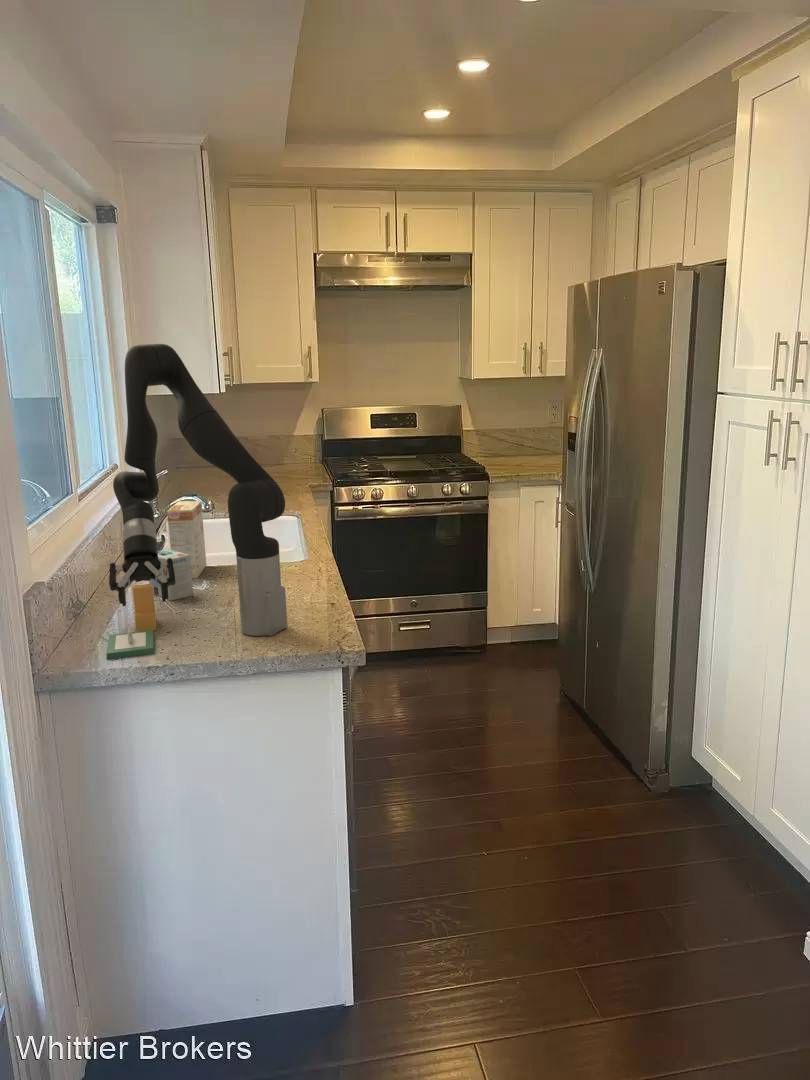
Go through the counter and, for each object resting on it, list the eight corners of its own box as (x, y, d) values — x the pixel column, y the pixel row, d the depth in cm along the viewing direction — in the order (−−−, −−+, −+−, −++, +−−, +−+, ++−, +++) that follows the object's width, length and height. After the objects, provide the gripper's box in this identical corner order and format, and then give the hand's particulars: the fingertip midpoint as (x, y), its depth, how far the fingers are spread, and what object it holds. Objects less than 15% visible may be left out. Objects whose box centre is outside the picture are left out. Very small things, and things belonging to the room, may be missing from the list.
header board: (109, 639, 166) (108, 623, 166) (153, 634, 169) (151, 618, 168) (107, 659, 155) (105, 641, 155) (153, 653, 158) (152, 635, 157)
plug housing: (137, 618, 180) (133, 579, 178) (156, 616, 182) (152, 577, 179) (136, 632, 171) (132, 591, 169) (156, 630, 172) (152, 589, 170)
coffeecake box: (183, 566, 228) (177, 501, 224) (207, 565, 229) (202, 500, 224) (171, 579, 214) (165, 510, 209) (197, 578, 214) (192, 509, 210)
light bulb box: (149, 593, 201) (145, 553, 199) (172, 587, 206) (169, 548, 203) (171, 601, 194) (167, 559, 192) (194, 595, 199) (191, 554, 196)
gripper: (106, 535, 176) (108, 597, 168) (170, 530, 181) (176, 590, 173) (109, 553, 183) (112, 613, 174) (172, 548, 187) (177, 606, 179)
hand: (144, 602), depth 174 cm, fingers open, 8 cm apart
